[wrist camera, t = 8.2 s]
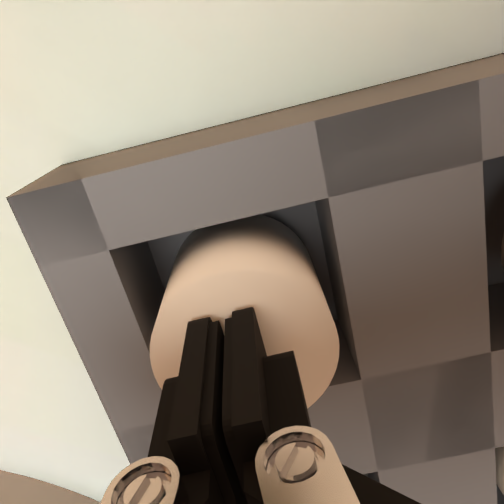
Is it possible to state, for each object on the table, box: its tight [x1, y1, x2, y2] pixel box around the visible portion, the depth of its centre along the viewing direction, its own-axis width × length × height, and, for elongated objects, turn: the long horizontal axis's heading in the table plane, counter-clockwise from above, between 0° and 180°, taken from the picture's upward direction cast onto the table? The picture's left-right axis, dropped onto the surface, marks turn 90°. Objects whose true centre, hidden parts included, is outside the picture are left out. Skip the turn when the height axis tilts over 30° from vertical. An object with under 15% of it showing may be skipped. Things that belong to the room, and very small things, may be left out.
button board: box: [6, 53, 504, 504], centre depth 17 cm, size 20×20×4 cm
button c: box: [150, 214, 339, 409], centre depth 14 cm, size 5×5×4 cm
